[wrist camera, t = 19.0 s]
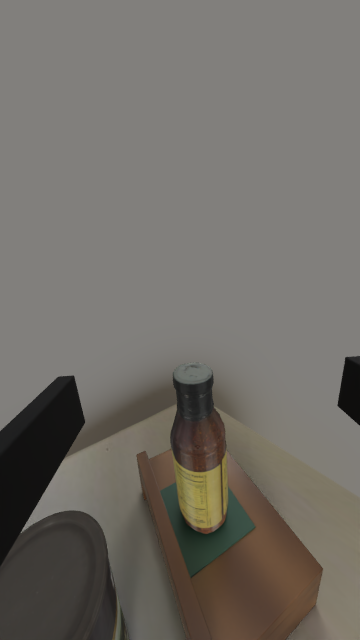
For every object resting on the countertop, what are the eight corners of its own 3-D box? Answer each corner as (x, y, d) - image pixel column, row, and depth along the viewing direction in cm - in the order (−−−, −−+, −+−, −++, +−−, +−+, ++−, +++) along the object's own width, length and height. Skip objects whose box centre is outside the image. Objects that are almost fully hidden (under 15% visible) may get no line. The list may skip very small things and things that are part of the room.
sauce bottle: (202, 472, 30) (196, 350, 25) (238, 508, 25) (241, 367, 20) (167, 506, 26) (151, 370, 21) (202, 557, 21) (193, 397, 16)
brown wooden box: (211, 455, 39) (210, 421, 37) (316, 603, 22) (325, 555, 20) (142, 491, 34) (136, 454, 32) (207, 731, 16) (204, 684, 14)
